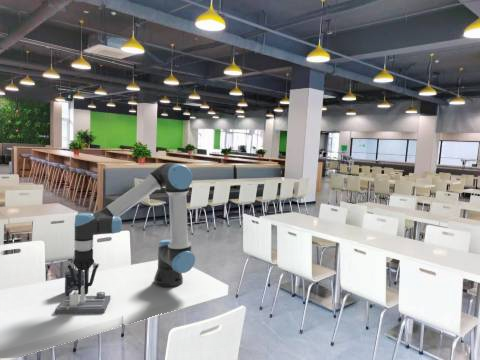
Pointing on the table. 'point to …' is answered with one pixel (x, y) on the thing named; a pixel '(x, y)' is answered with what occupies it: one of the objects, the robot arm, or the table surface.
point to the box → (71, 282)
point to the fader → (74, 298)
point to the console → (84, 305)
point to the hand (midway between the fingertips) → (83, 301)
